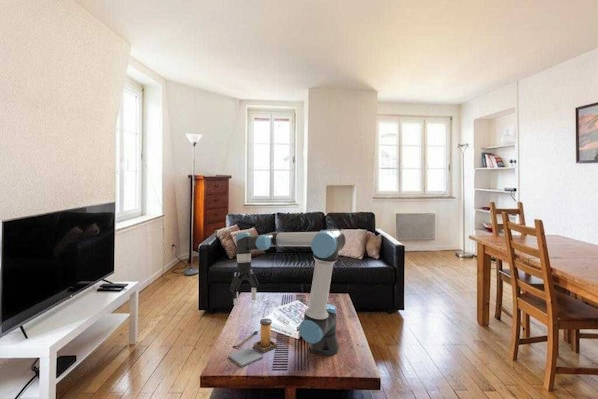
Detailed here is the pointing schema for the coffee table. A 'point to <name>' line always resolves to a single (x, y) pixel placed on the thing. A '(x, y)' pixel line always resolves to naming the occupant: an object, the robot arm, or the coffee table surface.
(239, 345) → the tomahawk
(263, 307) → the coffee table surface
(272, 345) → the square wooden frame
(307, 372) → the coffee table surface
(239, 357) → the rubber mat
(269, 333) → the orange grey capped cylinder
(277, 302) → the coffee table surface
